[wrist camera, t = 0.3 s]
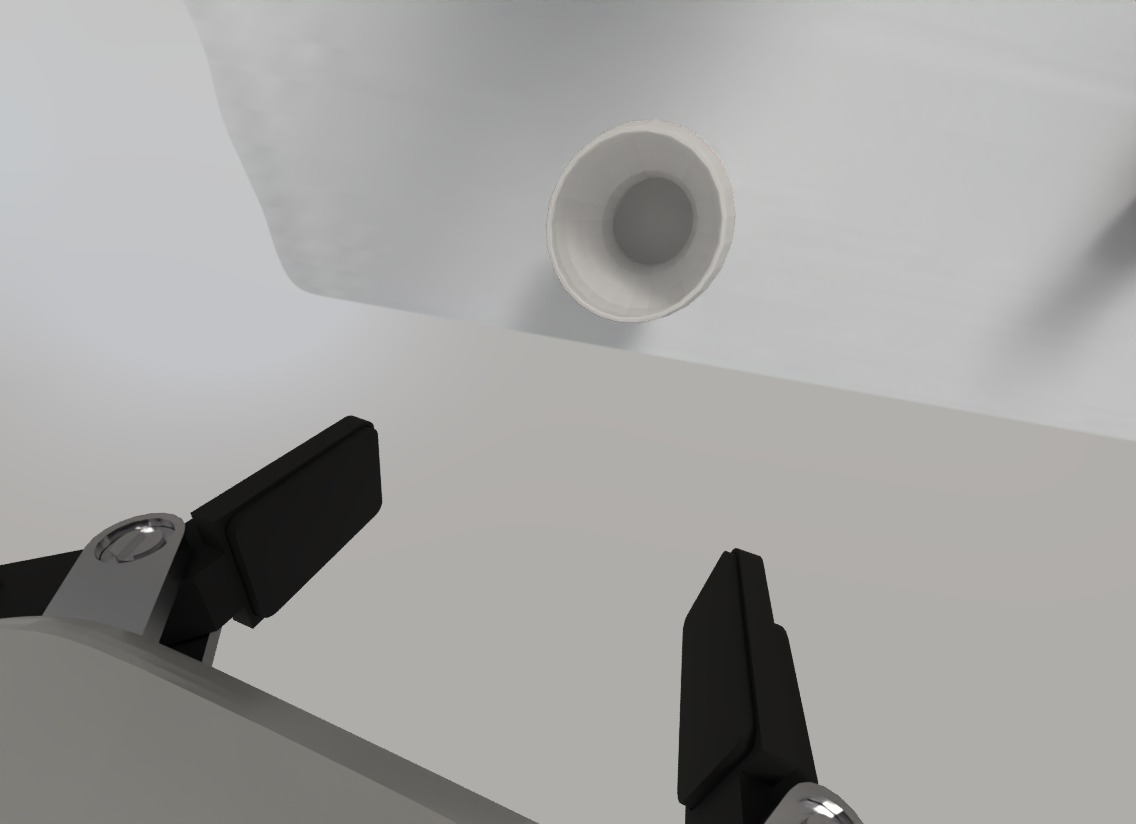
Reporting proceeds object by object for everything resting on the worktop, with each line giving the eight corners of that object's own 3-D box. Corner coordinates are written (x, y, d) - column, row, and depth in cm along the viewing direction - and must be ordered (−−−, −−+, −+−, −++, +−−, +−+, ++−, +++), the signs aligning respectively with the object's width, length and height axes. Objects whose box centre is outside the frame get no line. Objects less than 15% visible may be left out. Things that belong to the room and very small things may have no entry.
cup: (749, 231, 32) (782, 251, 20) (640, 309, 38) (611, 366, 25) (674, 111, 30) (658, 47, 18) (570, 212, 36) (499, 219, 23)
